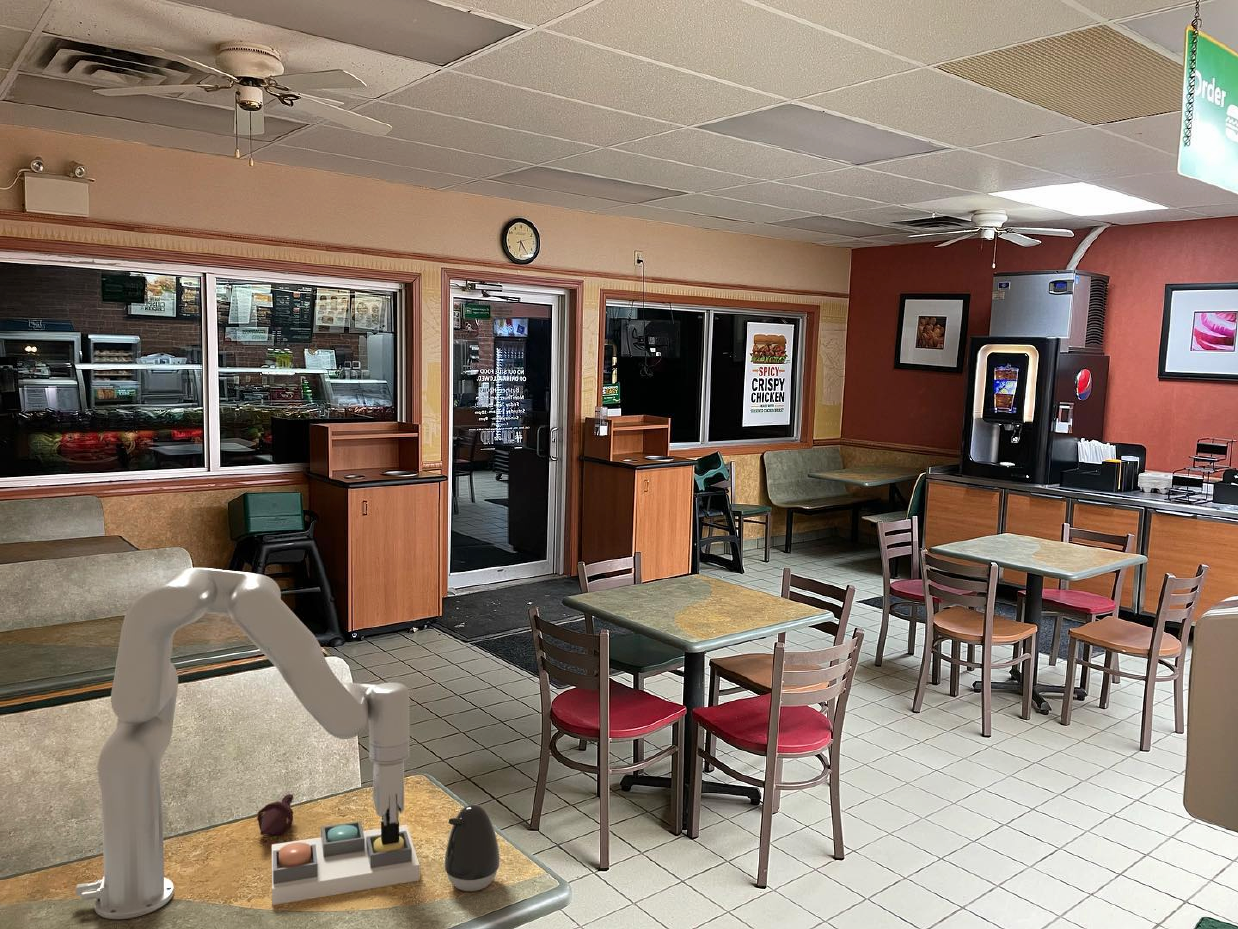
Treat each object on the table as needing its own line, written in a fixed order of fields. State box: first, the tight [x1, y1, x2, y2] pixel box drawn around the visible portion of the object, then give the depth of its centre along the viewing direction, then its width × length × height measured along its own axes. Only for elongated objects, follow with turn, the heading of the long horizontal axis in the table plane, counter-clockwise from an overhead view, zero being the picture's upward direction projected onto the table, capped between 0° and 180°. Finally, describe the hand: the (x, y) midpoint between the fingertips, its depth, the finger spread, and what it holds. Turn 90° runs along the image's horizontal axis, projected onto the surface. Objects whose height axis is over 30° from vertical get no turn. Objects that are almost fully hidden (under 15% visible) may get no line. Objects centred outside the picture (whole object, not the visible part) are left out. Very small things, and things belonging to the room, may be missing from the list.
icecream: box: [256, 793, 294, 837], centre depth 189 cm, size 7×7×15 cm
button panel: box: [271, 820, 420, 906], centre depth 176 cm, size 26×17×6 cm, turn 111°
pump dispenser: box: [444, 803, 501, 892], centre depth 171 cm, size 10×10×15 cm
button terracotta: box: [279, 843, 311, 868], centre depth 170 cm, size 6×6×2 cm
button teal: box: [328, 825, 357, 842], centre depth 180 cm, size 6×6×2 cm
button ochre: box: [374, 836, 404, 853], centre depth 176 cm, size 6×6×2 cm
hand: (390, 842), depth 176 cm, fingers closed
